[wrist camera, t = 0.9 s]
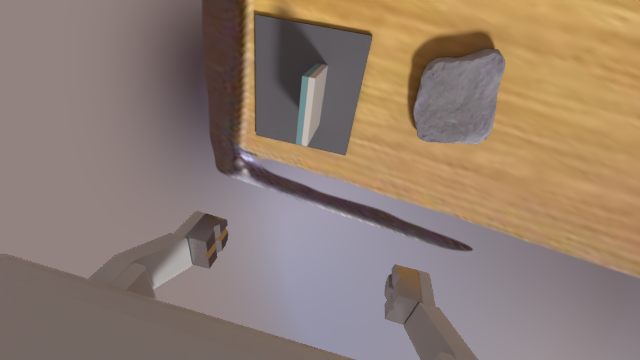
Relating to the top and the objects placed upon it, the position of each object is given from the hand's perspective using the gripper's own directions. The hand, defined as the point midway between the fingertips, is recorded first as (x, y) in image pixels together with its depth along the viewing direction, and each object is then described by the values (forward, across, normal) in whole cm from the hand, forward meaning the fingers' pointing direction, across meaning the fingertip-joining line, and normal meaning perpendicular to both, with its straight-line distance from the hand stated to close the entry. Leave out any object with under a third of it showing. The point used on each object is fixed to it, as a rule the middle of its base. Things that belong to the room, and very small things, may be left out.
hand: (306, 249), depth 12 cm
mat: (+31, +8, +2) cm, 32 cm away
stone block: (+32, -13, -1) cm, 34 cm away
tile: (+31, +6, +2) cm, 31 cm away
